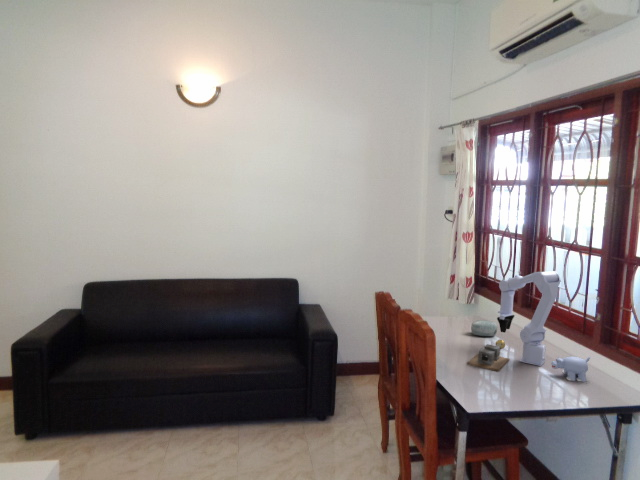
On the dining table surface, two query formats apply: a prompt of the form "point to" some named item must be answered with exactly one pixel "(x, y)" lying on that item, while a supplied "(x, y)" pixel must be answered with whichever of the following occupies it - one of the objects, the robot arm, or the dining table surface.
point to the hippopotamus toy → (572, 367)
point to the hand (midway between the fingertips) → (505, 330)
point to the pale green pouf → (484, 328)
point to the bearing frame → (489, 358)
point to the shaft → (500, 344)
